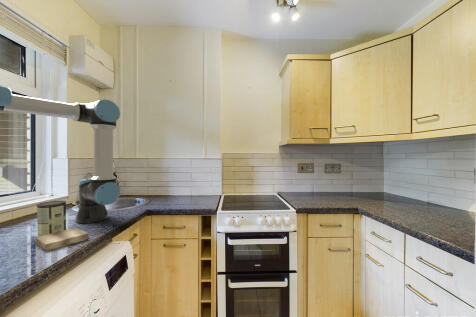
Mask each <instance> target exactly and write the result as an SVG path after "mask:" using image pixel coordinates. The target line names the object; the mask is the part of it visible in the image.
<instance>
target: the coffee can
mask: <svg viewBox="0 0 476 317" xmlns="http://www.w3.org/2000/svg"><path fill="white" fill-rule="evenodd" d="M36 211H37V212H36V215H37V221H36V222H37V237H38V236H42V235H47V234H51V233H55V232H59V231H64V230H67V201H66V200H50V201H45V202H44V201H43V202H39V203H37V204H36Z"/></svg>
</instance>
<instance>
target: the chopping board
mask: <svg viewBox="0 0 476 317" xmlns="http://www.w3.org/2000/svg"><path fill="white" fill-rule="evenodd" d="M86 239H87V240H89V233H88V232H87V231H83V230H81V229H80V228H77V227H73V228H69V229H66V230H64V231H59V232H55V233H51V234H47V235H42V236H38V235H37V236H36V237H35V239H34V244H35V245H37V246H38V247H40V248H41V249H42V250H43V251H45V252H47V251H48V252H49V251H51V250H55V249H58V248H62V247H65V246H69V245H73V244H75V243H80V242H83V241H87V240H86Z"/></svg>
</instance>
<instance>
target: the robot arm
mask: <svg viewBox="0 0 476 317" xmlns="http://www.w3.org/2000/svg"><path fill="white" fill-rule="evenodd" d="M0 111H5V112H13V113H20V114H29V115H39V116H44V117H45V116H47V117H53V118H63V119H71V120H73V121H74V122H79V123H86V124H89V126H90V127H91V128H92V129H93V176H91V178H85V179H81V180H80V181H79V185H78V190H79V191H78V193H79V194H78V195H79V197H78V198H79V201H78V202H79V206H78V211H77V212H76V216H75V223H77V224H92V223H98V222H102V221H104V220H105V221H106V220H107V219H109V212H108V210H107V207H106V206H107V205H112V204H114V203H115V202H117V200H118V199H119V197H120V196H121V188H120V185H118V183H117V177H116V176H115V175H114V130H115V129H116V128H117V121H118V120H119V119H120V117H121V110H120V108H119V106H118V105H117V104H116V103H115V102H114V101H112V100H111V99H105V98H104V99H97V100H96V101H94V102H93V101H92V102H89V103H81V102H75V103H68V102H67V103H66V102H63V101H62V102H61V101H55V100H49V99H43V98H38V97H32V96H24V95H19V94H13V93H12V89H11V88H10V87H8V86H4V85H0Z"/></svg>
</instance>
